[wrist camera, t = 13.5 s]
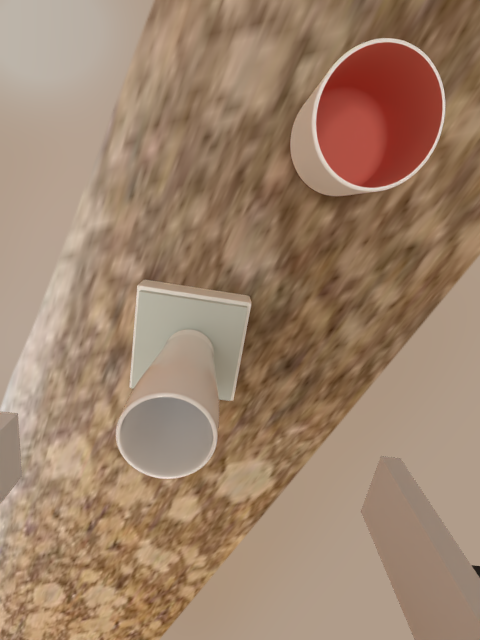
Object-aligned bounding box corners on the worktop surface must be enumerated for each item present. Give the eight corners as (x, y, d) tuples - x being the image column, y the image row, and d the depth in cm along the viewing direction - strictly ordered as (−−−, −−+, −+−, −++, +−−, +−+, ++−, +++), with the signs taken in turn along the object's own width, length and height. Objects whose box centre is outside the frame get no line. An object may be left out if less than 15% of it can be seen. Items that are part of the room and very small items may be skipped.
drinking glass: (187, 390, 37) (164, 497, 23) (144, 347, 36) (90, 434, 21) (233, 353, 36) (239, 442, 22) (192, 307, 35) (169, 372, 20)
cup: (376, 198, 36) (430, 194, 26) (284, 194, 35) (305, 189, 26) (392, 90, 33) (461, 41, 23) (291, 84, 32) (319, 32, 23)
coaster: (249, 295, 39) (252, 304, 35) (232, 386, 42) (233, 404, 38) (144, 279, 37) (135, 287, 34) (136, 374, 41) (127, 391, 37)
